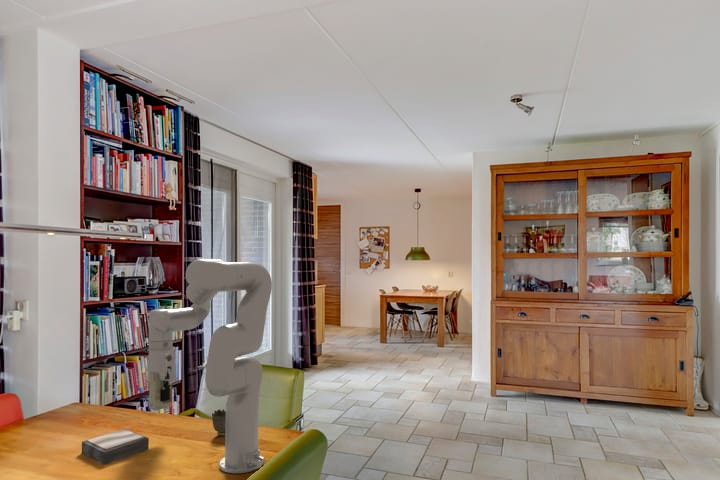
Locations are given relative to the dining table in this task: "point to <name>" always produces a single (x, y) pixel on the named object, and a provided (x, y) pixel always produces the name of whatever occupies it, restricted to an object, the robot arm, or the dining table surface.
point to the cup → (219, 422)
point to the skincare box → (157, 393)
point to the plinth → (115, 446)
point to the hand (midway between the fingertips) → (160, 399)
